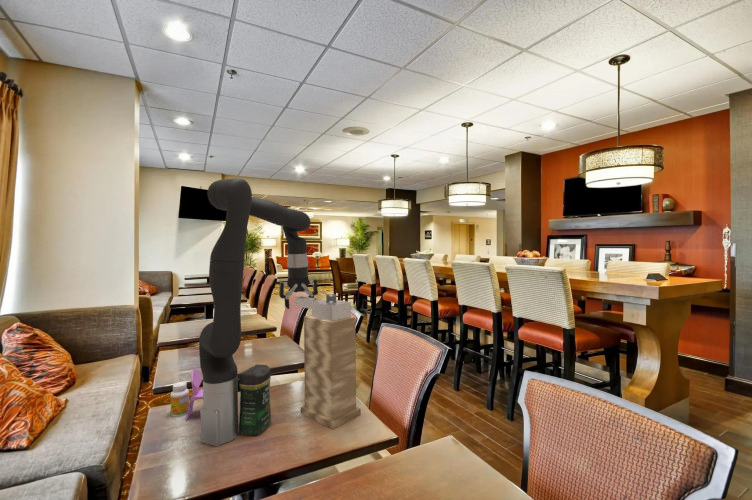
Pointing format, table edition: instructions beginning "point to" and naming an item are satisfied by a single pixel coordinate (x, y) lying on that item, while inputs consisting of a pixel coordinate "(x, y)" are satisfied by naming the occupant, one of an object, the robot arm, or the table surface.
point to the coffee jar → (254, 400)
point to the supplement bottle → (179, 399)
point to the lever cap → (326, 307)
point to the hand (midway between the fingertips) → (299, 307)
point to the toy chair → (195, 389)
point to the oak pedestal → (330, 371)
